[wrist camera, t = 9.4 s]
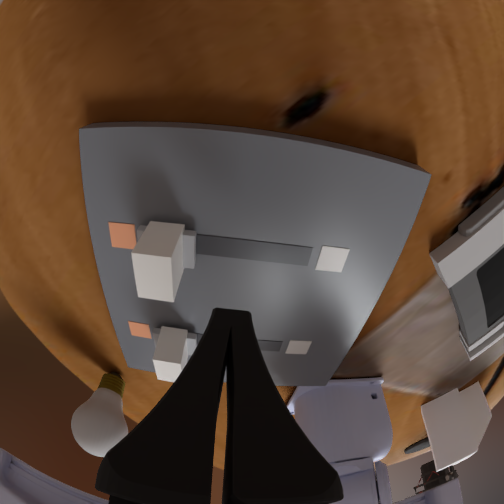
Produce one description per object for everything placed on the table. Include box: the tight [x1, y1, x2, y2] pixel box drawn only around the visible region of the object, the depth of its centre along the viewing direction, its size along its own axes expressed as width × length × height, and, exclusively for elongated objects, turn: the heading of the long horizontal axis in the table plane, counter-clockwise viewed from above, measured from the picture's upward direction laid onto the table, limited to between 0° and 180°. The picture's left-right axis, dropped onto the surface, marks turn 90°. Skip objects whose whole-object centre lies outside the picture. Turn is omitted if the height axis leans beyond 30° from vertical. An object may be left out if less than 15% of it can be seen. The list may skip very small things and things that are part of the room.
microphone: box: [404, 438, 458, 495], centre depth 39 cm, size 14×13×30 cm
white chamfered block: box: [421, 381, 492, 472], centre depth 29 cm, size 11×11×12 cm
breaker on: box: [152, 326, 197, 382], centre depth 18 cm, size 3×3×3 cm
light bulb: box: [71, 372, 128, 457], centre depth 22 cm, size 6×6×10 cm
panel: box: [79, 122, 431, 386], centre depth 18 cm, size 18×20×2 cm
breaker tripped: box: [131, 221, 196, 302], centre depth 13 cm, size 3×3×3 cm
